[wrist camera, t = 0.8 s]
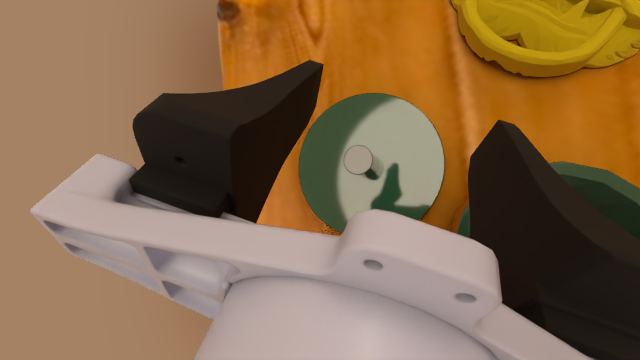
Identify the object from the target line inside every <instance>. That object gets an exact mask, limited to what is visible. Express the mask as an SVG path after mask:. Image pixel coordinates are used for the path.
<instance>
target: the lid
mask: <svg viewBox="0 0 640 360" xmlns="http://www.w3.org/2000/svg"><path fill="white" fill-rule="evenodd" d="M444 166H445V161H444V151H443V147H442V143H441V140H440V137H439V135H438V133H437V131H436V129H435V127H434V125H433V124H432V123H431V121H430V120H429V119H428V117H427V116H426V115H425V114H424V113H423V112H422V111H421V110H419V109H418V108H417V107H415V106H414V105H413V104H411V103H409V102H407V101H406V100H404V99H401V98H398V97H396V96H392V95H388V94H381V93H366V94H359V95H355V96H352V97H348V98H346V99H344V100H341V101H339V102H338V103H336V104H334V105H333V106H331V107H330V108H328V109H327V110H326V111H325V112H324V113H323V114H322V115H320V116H319V117H318V119H317V120H316V121H315V122H314V124H313V125H312V126H311V128H310V130H309V131H308V133H307V135H306V137H305V139H304V142H303V145H302V148H301V152H300V157H299V178H300V184H301V188H302V191H303V194H304V196H305V198H306V201H307V202H308V204H309V206H310V207H311V209H312V210H313V211H314V213H315V214H316V215H317V216H318V217H319V218H320V219H321V220H322V221H323V222H324V223H326V224H327V225H328V226H329V227H331V228H333V229H335V230H336V231H338V232H340V233H343V232H344V230H345V228H346V225H347V223H348V221H349V220H350V219H351V218H352V217H353V216H354V215H355V214H356V213H358V212H363V211H368V210H373V209H378V210H384V211H390V212H395V213H397V214H400V215H403V216H406V217H409V218H412V219H415V220H419V219H421V218H422V217H423V215H424V214H425V213H426V212H427V211H428V210H429V208H430V207H431V206H432V204H433V203H434V201H435V199H436V197H437V195H438V193H439V190H440V188H441V185H442V181H443V176H444Z"/></svg>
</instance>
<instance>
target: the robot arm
mask: <svg viewBox="0 0 640 360" xmlns="http://www.w3.org/2000/svg"><path fill="white" fill-rule="evenodd" d="M323 65H324V64H321V63H317V62H314V61H311V60H308V61H306V62H304V63H302V64H300V65H298V66H296V67H294V68H292V69H290V70H288V71H286V72H284V73H282V74H279V75H277V76H274V77H272V78H270V79H267V80H265V81H262V82H259V83H256V84H252V85H249V86H245V87H241V88H236V89H230V90H225V91H219V92H209V93H194V94H169V93H163V94H162V95H160V96H159V97H158V98H157V99H155V100H154V101H153V102H152V103H151V104H149V105H148V106H147V107H146V108H144V109H143V110H142V111H141V112H140V113H138V114H137V115H136V117H135V118H134V120H133V131H134V135H135V138H136V141H137V143H138V146H139V149H140V152H141V154H142V157H143V159H144V162H145V164H144V165H143V166H142V167H141V168H140V169H139V170H138V171H137V170H136V168H134V167H133V166H132V165H130V164H128V163H126V162H123V161H120V160H118V159H115V158H112V157H109V156H106V155H103V154H99V153H97V154H96V155H95V156H94V157H92V158H91V159H90V160H89V161H88V162H87V163H85V164H84V165H83V166H82V167H80V168H79V169H78V170H77V171H76V172H74V173H73V174H72V175H71V176H70V177H69V178H67V179H66V180H65V181H64V182H62V183H61V184H60V185H59V186H58V187H57V188H55V189H54V190H53V191H52V192H50V193H49V194H48V195H47V196H46V197H44V198H43V199H42V200H41V201H40V202H38V203H37V204H36V205H35V206H34V207H32V208H31V209H30V212H31V214H32V215H33V216H34V217H35V218H36V219H37V220H38V221H39V222H40V223H41V224H42V225H43V226H44V227H45V228H46V229H47V230H48V231H49V232H50V233H51V235H52V236H53V237H54V238H55V239H56V240H57V241H58V242H59V243H60V244H61V245H62V246H63V247H64V248H65V249H66V250H67V251H68V252H69V253H70V254H71V255H73V256H76V257H79V258H81V259H83V260H86V261H88V262H91V263H93V264H96V265H98V266H100V267H103V268H105V269H107V270H110V271H112V272H114V273H116V274H119V275H121V276H123V277H125V278H127V279H129V280H131V281H134V282H136V283H138V284H140V285H142V286H144V287H146V288H148V289H150V290H152V291H155V292H156V293H158V294H160V295H162V296H164V297H166V298H169V299H171V300H173V301H175V302H177V303H179V304H181V305H183V306H185V307H187V308H189V309H191V310H193V311H195V312H197V313H199V314H201V315H203V316H205V317H208V318H210V319H211V320H213V323H212V325H211V327H210V328H209V330H208V332H207V334H206V336H205V338H204V340H203V342H202V344H201V346H200V348H199V350H198V352H197V354H196V355H195V357H194V359H193V360H640V240H639V239H637V238H636V237H634V236H633V235H631V234H630V233H628V232H627V231H625V230H624V229H622V228H621V227H620V226H618V225H617V224H615V223H614V222H613V221H611V220H610V219H609V218H607V217H606V216H605V215H603V214H602V213H601V212H599V211H598V210H597V209H596V208H594V207H593V206H592V205H591V204H589V203H588V202H587V201H586V200H585V199H584V198H583V197H581V196H580V195H579V194H578V193H577V192H576V191H575V190H574V189H573V188H571V187H570V186H569V185H568V184H567V183H566V182H565V181H564V180H563V179H562V177H561V176H560V175H559V174H558V173H557V172H556V171H555V170H554V169H553V168H552V167H551V166H550V165H549V163H548V162H547V161H546V160H545V159H544V158H543V156H542V155H541V154H540V153H539V152H538V150H537V149H536V148H535V147H534V146H533V144H532V143H531V142H530V141H529V140H528V138H527V137H526V136H525V135H524V134H523V133H522V132H521V130H520V129H519V128H518V127H517V126H515V125H514V124H511V123H508V122H505V121H502V120H498V121H497V123H496V124H495V125H494V126H493V128H492V129H491V130H490V132H489V133H488V134H487V136H486V137H485V138H484V140H483V141H482V142H481V144H480V145H479V146H478V148H477V149H476V150H475V152H474V153H473V154H472V156H471V158H470V164H469V172H468V192H469V211H470V236H469V238H467V237H464V236H461V235H458V234H456V233H453V232H450V231H447V230H444V229H441V228H438V227H435V226H432V225H429V224H427V223H424V222H421V221H418V220H415V219H412V218H409V217H406V216H403V215H400V214H397V213H395V212H390V211H384V210H378V209H373V210H368V211H363V212H358V213H356V214H355V215H354V216H353V217H352V218H351V219H350V220H349V221H348V223H347V225H346V228H345V230H344V232H343V233H342V235H341V236H336V235H330V234H323V233H316V232H309V231H302V230H296V229H289V228H282V227H275V226H269V225H262V224H256V222H257V220H258V218H259V215H260V213H261V211H262V208H263V206H264V204H265V201H266V199H267V197H268V195H269V193H270V190H271V188H272V186H273V184H274V182H275V180H276V177H277V175H278V173H279V171H280V169H281V167H282V165H283V163H284V162H285V160H286V158H287V156H288V155H289V153H290V152H291V150H292V149H293V147H294V145H295V144H296V142H297V141H298V139H299V138H300V136H301V134H302V133H303V131H304V130H305V128H306V126H307V125H308V123H309V120H310V118H311V116H312V114H313V111H314V109H315V107H316V102H317V97H318V92H319V86H320V81H321V76H322V71H323Z"/></svg>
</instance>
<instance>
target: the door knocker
mask: <svg viewBox="0 0 640 360" xmlns="http://www.w3.org/2000/svg"><path fill="white" fill-rule="evenodd" d="M451 2H452V4H453V7H454V8H455V9H456V10H457V11H458V24H459V28H460V31H461V34H462V35H465V38H466V41H467V44H468V45H469V46H470V48H471V49H472V50H473V51H474V52H476V53H477V55H479V56H480V58H482V57H484V58H485V60H486V61H491V60H496V61H497V62H498V64H501V65H502V66H503V67H504V69H506V70H507V71H512V73H516V72H519V73H521V75H523V76H535V77H551V76H560V75H566V74H569V73H572V72H574V71H577V70H578V69H580V68H582V67H590V68H600V67H604V66H609V65H612V64H615V63H618V62H620V61H622V60H624V59H626V58H628V57H630V56H632V55H634V54H636V53H637V52H638V51H639V50H640V0H451ZM514 39H517V42H518V43H519V44H520V45H521V47H520V46H517V45H514V44H512V43H510V42H508V41H506V40H514Z"/></svg>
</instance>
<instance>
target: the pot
mask: <svg viewBox="0 0 640 360" xmlns="http://www.w3.org/2000/svg"><path fill="white" fill-rule="evenodd" d="M549 165H550V166H551V167H552V168H553V169H554V170H555V171H556V172H557V173H558V174H559V175H560V176H561V177H562V179H563V180H564V181H565V182H566V183H567V184H568V185H569V186H570V187H571V188H573V189H574V190H575V191H576V192H577V193H578V194H579V195H580V196H581V197H583V198H584V199H585V200H586V201H587V202H588V203H589V204H591V205H592V206H593V207H594V208H596V209H597V210H598V211H599V212H601V213H602V214H603V215H605V216H606V217H607V218H609V219H610V220H611V221H613V222H614V223H615V224H617V225H618V226H620V227H621V228H622V229H624V230H625V231H627V232H628V233H630V234H631V235H633V236H634V237H636V238H637V239H639V240H640V188H638V187H636V186H634V185H633V184H631V183H629V182H627V181H626V180H624V179H622V178H621V177H619V176H617V175H615V174H614V173H612V172H610V171H608V170H604V169H599V168H594V167H589V166H584V165H579V164H574V163H569V162H554V163H549ZM450 232H453V233H456V234H458V235H461V236H464V237H467V238H469V236H470V211H469V195H468V196H467V197H466V198H465V199H464V201H463V202H462V203H461V205H460V206H459V207H458V208H457V209H456V211H455V214H454V218H453V221H452V223H451V228H450Z"/></svg>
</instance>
